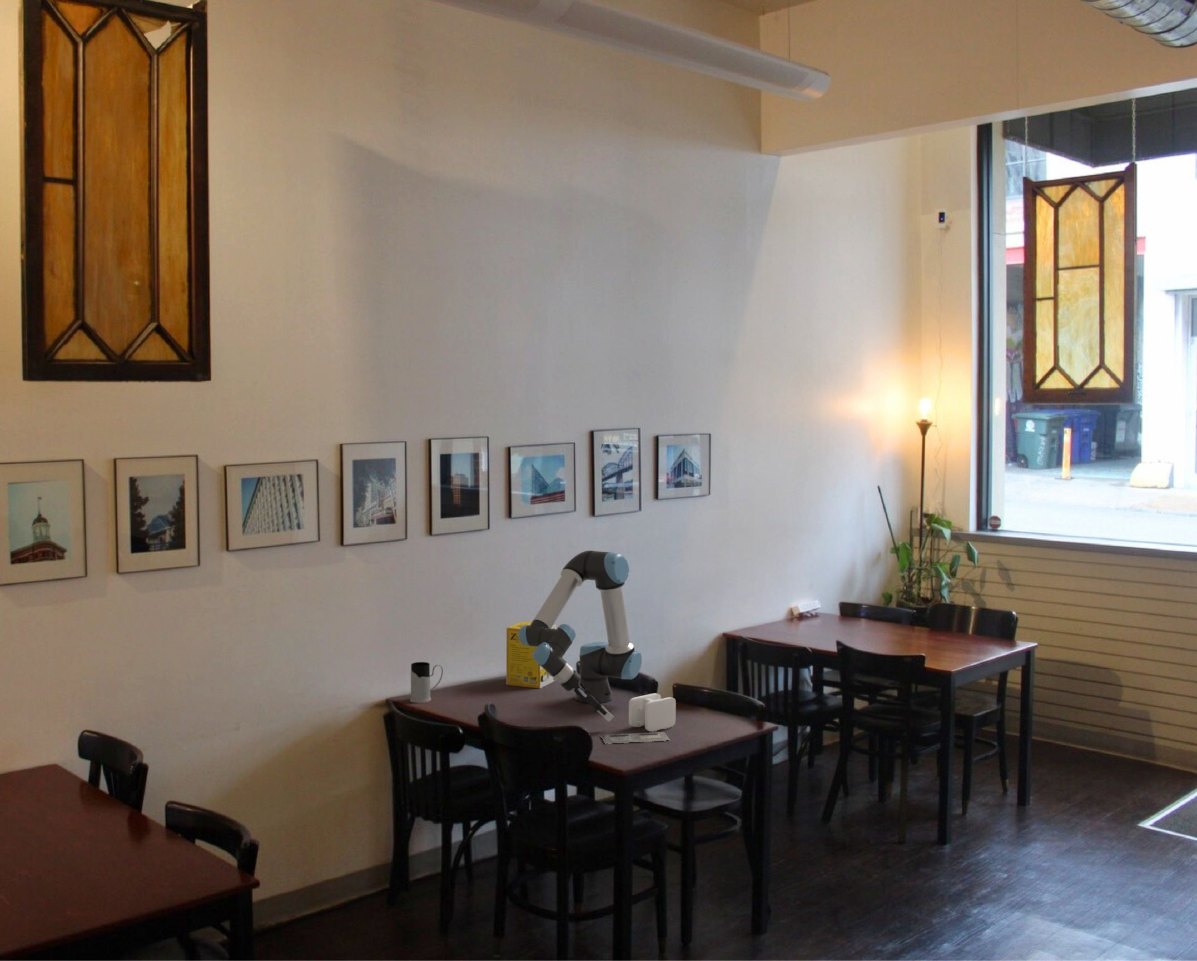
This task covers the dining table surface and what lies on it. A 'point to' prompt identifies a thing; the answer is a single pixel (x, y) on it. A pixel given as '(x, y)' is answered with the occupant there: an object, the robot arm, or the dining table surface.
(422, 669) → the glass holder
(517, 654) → the packaging box
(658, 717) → the cable organizer
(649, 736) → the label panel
